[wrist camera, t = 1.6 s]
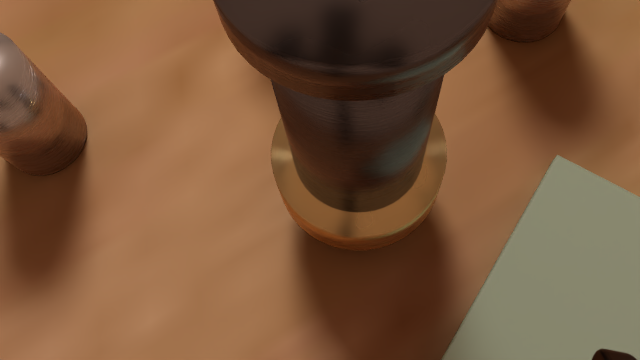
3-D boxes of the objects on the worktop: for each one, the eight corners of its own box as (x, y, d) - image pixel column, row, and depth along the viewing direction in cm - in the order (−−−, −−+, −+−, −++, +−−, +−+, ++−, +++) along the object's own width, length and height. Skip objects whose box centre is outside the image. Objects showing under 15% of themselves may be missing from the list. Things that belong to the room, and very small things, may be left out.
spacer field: (756, 309, 20) (876, 278, 15) (-6, 167, 24) (-96, 108, 19) (747, 3, 24) (839, -94, 19) (97, -77, 28) (43, -175, 23)
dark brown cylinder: (373, 296, 21) (386, 134, 9) (256, 205, 23) (127, -44, 10) (462, 180, 22) (584, -103, 10) (346, 101, 24) (328, -231, 12)
